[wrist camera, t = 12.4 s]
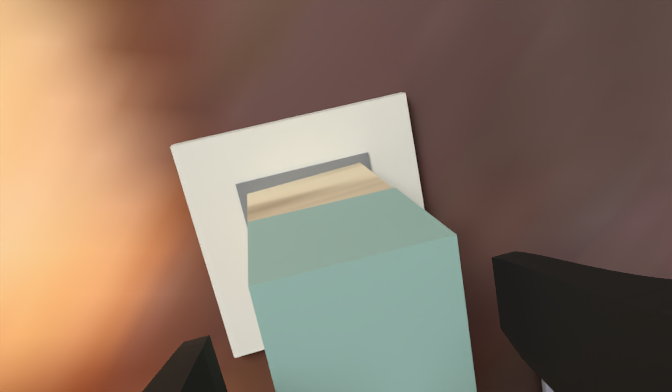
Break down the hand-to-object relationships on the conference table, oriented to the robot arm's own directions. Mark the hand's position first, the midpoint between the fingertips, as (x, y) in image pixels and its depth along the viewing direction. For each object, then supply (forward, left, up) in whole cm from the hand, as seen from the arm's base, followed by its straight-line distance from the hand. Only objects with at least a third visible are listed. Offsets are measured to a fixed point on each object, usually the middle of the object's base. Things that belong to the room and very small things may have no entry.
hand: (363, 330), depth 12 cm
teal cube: (0, 0, -3) cm, 3 cm away
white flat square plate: (0, 0, -8) cm, 8 cm away
